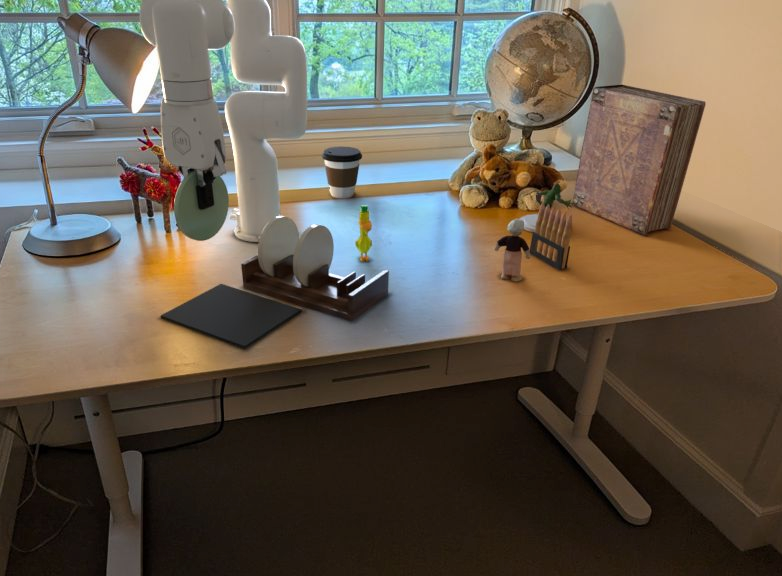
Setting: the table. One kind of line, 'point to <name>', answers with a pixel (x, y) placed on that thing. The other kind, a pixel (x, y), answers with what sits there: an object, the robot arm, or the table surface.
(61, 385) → the table surface
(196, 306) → the mat
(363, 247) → the toy figure
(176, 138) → the robot arm
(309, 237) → the cream plate
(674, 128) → the book
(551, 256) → the ammunition clip
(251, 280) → the plate rack
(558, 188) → the monster figurine
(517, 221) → the grandmother figurine
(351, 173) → the coffee cup
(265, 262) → the cream plate
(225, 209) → the green plate
